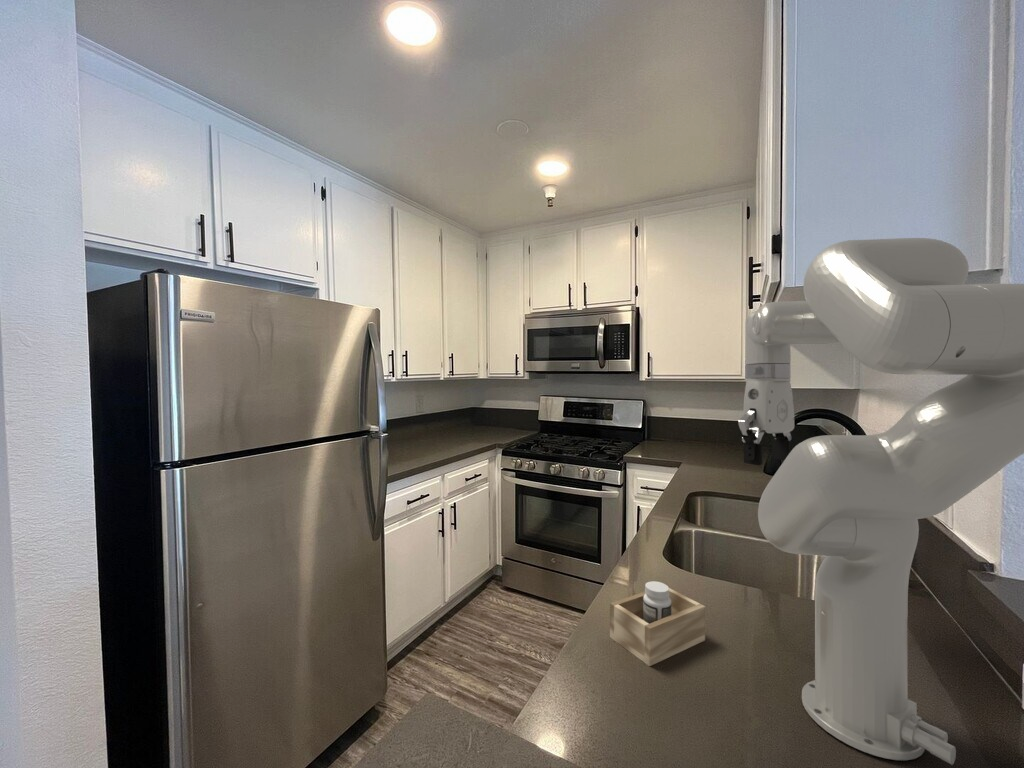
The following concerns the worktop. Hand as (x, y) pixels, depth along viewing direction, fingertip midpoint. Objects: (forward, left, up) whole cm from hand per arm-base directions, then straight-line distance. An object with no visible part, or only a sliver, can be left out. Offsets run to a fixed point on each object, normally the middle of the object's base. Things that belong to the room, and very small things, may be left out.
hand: (767, 461), depth 81 cm
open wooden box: (+6, +24, -30) cm, 39 cm away
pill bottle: (+6, +24, -30) cm, 39 cm away
